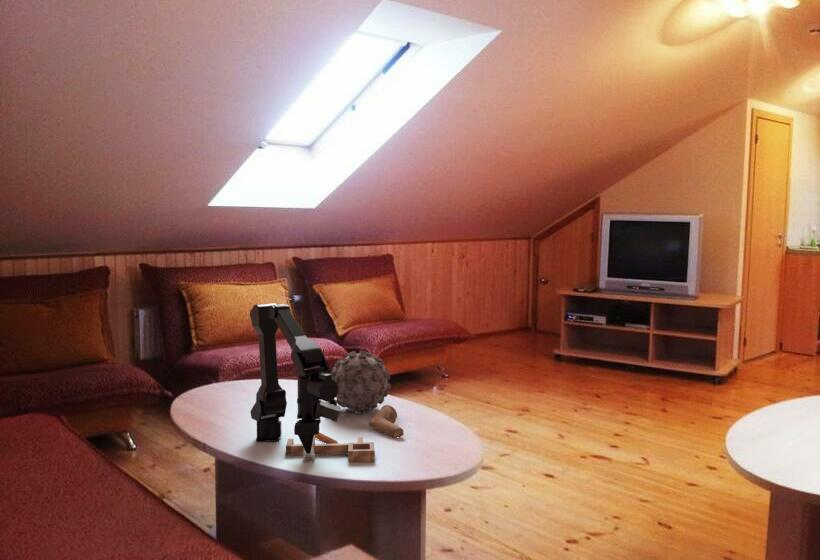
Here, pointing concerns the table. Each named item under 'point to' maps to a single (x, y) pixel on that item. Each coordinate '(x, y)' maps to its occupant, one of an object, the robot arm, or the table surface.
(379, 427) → the pipe
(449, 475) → the table surface
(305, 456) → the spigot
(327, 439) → the chocolate bar
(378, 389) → the ornament
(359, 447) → the dock
